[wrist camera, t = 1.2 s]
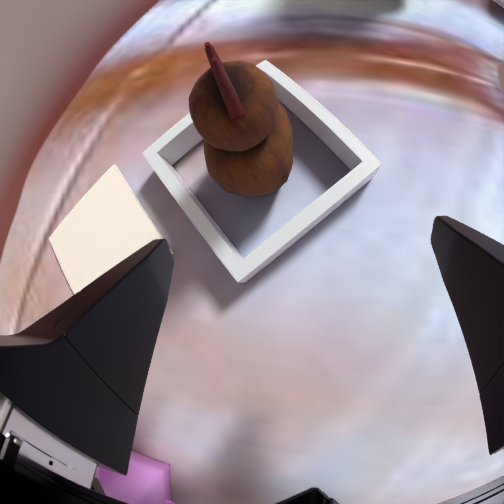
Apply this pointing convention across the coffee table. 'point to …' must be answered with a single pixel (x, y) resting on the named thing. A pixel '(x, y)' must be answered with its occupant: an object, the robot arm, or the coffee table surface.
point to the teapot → (138, 481)
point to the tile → (101, 230)
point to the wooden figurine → (242, 127)
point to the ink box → (500, 2)
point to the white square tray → (244, 269)
